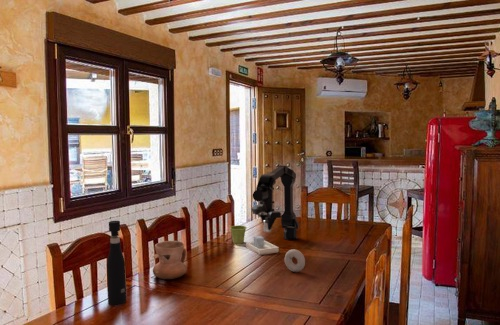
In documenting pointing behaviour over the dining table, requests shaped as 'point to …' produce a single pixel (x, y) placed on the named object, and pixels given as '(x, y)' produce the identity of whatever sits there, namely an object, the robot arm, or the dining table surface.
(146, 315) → the dining table surface
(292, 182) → the robot arm
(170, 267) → the ceramic jug
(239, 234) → the plant pot
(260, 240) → the painted block
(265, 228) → the metal cylinder
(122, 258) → the black water bottle
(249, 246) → the parts tray
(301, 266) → the donut
